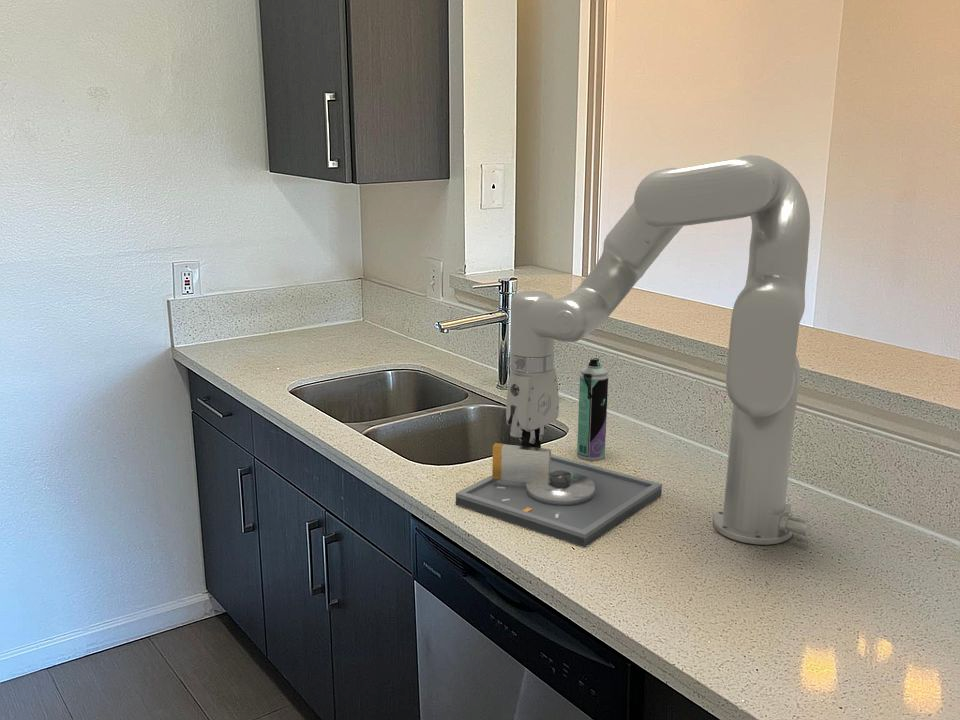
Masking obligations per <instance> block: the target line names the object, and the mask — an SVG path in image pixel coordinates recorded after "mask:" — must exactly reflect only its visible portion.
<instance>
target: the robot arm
mask: <svg viewBox="0 0 960 720" xmlns="http://www.w3.org/2000/svg"><path fill="white" fill-rule="evenodd" d="M633 197H634V198H633V202H632V203H631V205H630V206H629V207H628V209H626V211H625V213H624V214H623V215H622V216H621V217H620V219H619V220H618V221H617V222H616V223H615V225H614V226H613V227H612V228H611V230H610V231H609V232H608V234H607V235H606V236H605V239H604V241H603V248H602V253H601V256H600V257H599V260H598V261H597V262H596V264H595V265H594V267H593V268H592V270H590V272H589V274H588V275H587V276H586V277H584V278H585V279H584V280H583V281H582V282H581V283H580V284H579V286H577V288H576V289H575V290H574V291H573V292H571V293H569V294H567V295H565V296H562V297H558V298H554V296H553V295H552V294H550V293H549V292H546V291H541V290H523V291H519V292H517V293H515V294H513V295H512V297H511V300H510V366H509V367H510V373H509V376H508V377H509V378H508V382H507V383H508V384H507V391H506V402H505V403H506V405H505V408H506V411H505V412H506V415H505V417H506V418H505V419H506V425H507V426H508V427H510V432H509V435H510V437H513V438H516V439H517V438H518V439H519V442H521V445H520V446H526V447H535V448H542V441H543V438H544V432H545V429H546V427H548V426H549V425H550V424H552V423H553V422H555V421H557V419H558V418H559V412H560V407H559V406H560V400H559V399H560V398H559V385H558V376H557V372H556V367H554V366H555V365H554V360H555V357H554V356H555V355H554V354H555V352H554V351H555V340H556V341H561V342H565V343H575V342H578V341H580V340H582V339H584V338H585V337H587V336H589V334H591V333H592V332H593V331H595V330H597V329H599V328H600V327H601V326H602V325H603V324H604V323H605V322H606V321H607V319H608V318H609V317H610V316H611V314H613V312H614V311H615V310H616V308H617V307H618V306H619V305H620V304H621V302H623V301H624V299H625V298H626V296H627V295H628V294H629V293H630V292H631V290H632V289H633V287H634V286H635V285H637V282H638V281H640V279H641V278H642V277H643V276H644V274H645V273H646V272H647V270H649V268H650V267H651V266H652V264H653V263H654V262H655V261H656V259H657V258H658V257H659V256H660V255H661V253H662V252H663V251H664V250H665V248H666V247H667V246H669V243H671V241H672V240H673V238H674V237H675V236H676V235H677V234H678V233H679V232H680V231H681V229H682V228H684V227H685V226H693V225H702V224H709V223H714V222H723V221H730V220H738V219H744V218H747V217H750V219H751V235H750V239H749V240H750V241H749V254H748V256H749V257H748V268H747V276H746V280H745V285H744V288H742V290H741V292H739V294H738V295H737V296H736V299H735V301H734V303H733V304H734V305H733V308H732V312H731V320H730V328H729V338H728V350H727V351H728V353H727V362H726V372H725V373H726V374H725V375H726V377H725V387H726V392H727V395H728V398H729V400H730V401H731V403H732V410H731V421H730V431H729V433H730V434H729V442H728V443H729V445H728V453H727V468H726V478H725V489H724V500H723V501H724V502H723V503H724V505H723V508H722V509H720V510H718V511H717V512H716V513H714V515H713V520H712V525H713V527H714V529H715V530H716V531H717V532H718V533H720V534H721V535H723V536H724V537H727V538H729V539H731V540H734V541H737V542H741V543H745V544H751V545H760V546H761V545H762V546H763V545H766V546H768V545H776V544H781V543H784V542H786V541H788V540H790V539H791V537H792V536H793V534H797V535H800V536H804V537H808V535H809V534H810V530H811V524H809V523H808V518H805V517H801V516H796V515H794V514H793V513H792V512H791V510H792V505H791V504H788V503H787V491H788V481H789V474H790V473H789V471H790V462H791V453H792V443H793V437H794V428H795V427H794V426H795V418H796V411H797V402H798V394H799V388H800V380H801V379H800V378H801V368H800V367H801V366H800V365H801V364H800V361H799V357H798V356H797V350H798V340H799V339H798V338H799V331H800V322H801V320H802V318H803V316H804V314H805V309H806V281H807V270H808V261H809V260H808V259H809V245H810V244H809V242H810V235H811V234H810V233H811V232H810V229H811V215H810V207H809V203H808V200H807V195H806V194H805V191H804V189H803V187H802V185H801V183H800V182H799V181H798V179H797V178H796V177H795V176H794V175H793V173H791V172H790V171H789V170H788V169H787V168H785V166H783V165H781V164H780V163H778V162H777V161H775V160H772V159H770V158H768V157H765V156H761V155H753V154H751V155H750V154H749V155H743V156H740V157H736V158H731V159H727V160H721V161H715V162H710V163H706V164H703V163H702V164H697V165H692V166H686V167H667V168H663V169H659V170H655V171H652V172H651V173H649V174H647V175H646V176H645V177H643V179H642V180H640V182H639V184H638V185H637V187H636V190H635V192H634V196H633Z"/></svg>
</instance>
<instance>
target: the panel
mask: <svg viewBox="0 0 960 720" xmlns="http://www.w3.org/2000/svg"><path fill="white" fill-rule="evenodd" d="M551 471H566V472H572V473H577V474H580V475H583V476H586V477H588V478H589V479H591V480H592V481H593V482H594V484H595V495H594V497H593V498H592V499H591V500H589V501H587V502H585V503H582V504H577V505H569V506H559V505H550V504H545V503H541V502H538V501H536V500H534V499H532V498H530V497H529V496H528V495H527V493H526V482H521V481H513V480H504V479H501V480H500V479H492V474H491V475H489V476H488V477H486V478H483V479H482V480H479V481H478V482H475V483H474V484H471V485H469V486H467V487H465V488H463V489H461V490H460V491H457V492H455V505H456V506H458V505H459V506H458V507H461V506H462V508H464V507H465V509H467V508H468V510H470V509H471V511H473V510H474V512H476V513H479V512H480V514H482V513H483V515H485V514H486V516H489V517H491V516H492V517H491V518H494V519H496V520H497V519H498V520H500V521H504V522H507V523H509V524H512V525H517V526H519V527H522V528H525V529H529V530H531V531H534V532H537V533H540V534H543V535H546V536H549V537H552V538H555V539H559V540H562V541H564V542H567V543H570V544H573V545H577V546H579V547H582V548H586V547H587V546H589V545H590V544H592V543H593V542H595V541H596V540H597V539H600V538H601V537H602V536H604V535H605V534H607V532H610V531H611V530H612V529H614V528H615V527H617V526H618V525H620V524H622V523H623V522H625V520H628V519H629V518H630V517H632V516H633V515H634V514H636V513H638V512H639V511H641V510H642V509H643V508H645V507H647V506H648V505H650V504H651V503H653V502H654V501H656V500H657V499H658V498H660V497H661V496H662V493H663V492H662V489H663V484H662V483H660V482H656V481H653V480H649V479H645V478H642V477H637V476H635V475H630V474H627V473H624V472H623V473H622V472H619V471H616V470H615V471H614V470H611V469H607V468H603V467H601V466H597V465H593V464H589V463H585V462H581V461H578V460H574V459H570V458H567V457H562V456H561V455H560V456H559V455H555V454H552V453H551V469H550V472H551Z"/></svg>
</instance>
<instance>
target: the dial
mask: <svg viewBox="0 0 960 720" xmlns="http://www.w3.org/2000/svg"><path fill="white" fill-rule="evenodd" d="M551 454H552V449H551V448H545V447H544V448H542V447H541V448H535V447H526V446H521V445H515V444H513V445H512V444H507V443H505V444H504V443H501V442H500V443H497V442H495V443H494V444H493V445H492V466H491V467H492V471H491V472H492V473H491V475H492V479H500V480H501V479H504V480H513V481H521V482H526V493H527V495H528V496H529V497H530V498H532V499H534V500H536V501H538V502H541V503H545V504H550V505H559V506H569V505H577V504H582V503H585V502H587V501H589V500H591V499H592V498H593V497H594V495H595V484H594V482H593V481H592V480H591V479H589V478H588V477H586V476H583V475H580V474H577V473H572V472H566V471H551V472H550V469H551Z"/></svg>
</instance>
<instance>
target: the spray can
mask: <svg viewBox="0 0 960 720" xmlns="http://www.w3.org/2000/svg"><path fill="white" fill-rule="evenodd" d="M578 388H579V389H578V390H579V393H578V395H579V396H578V418H577V419H578V420H577V422H578V423H577V424H578V425H577V446H576V448H577V449H576V451H577V452H576V457H578V459H581V460H584V461H586V462H587V461H588V462H596V461H597V462H598V461H601V460H603V459H605V456H606V440H607V435H606V434H607V414H608V395H609V394H608V393H609V392H608V391H609V370H608V369H605V368H604V367H603V365H602V364H601V362H600V359H599V358H597V357H595V358H592V359H590V360H589V362H588V364H587V365H586V366H585V367H583V368H581V369H580V373H579V387H578Z"/></svg>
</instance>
